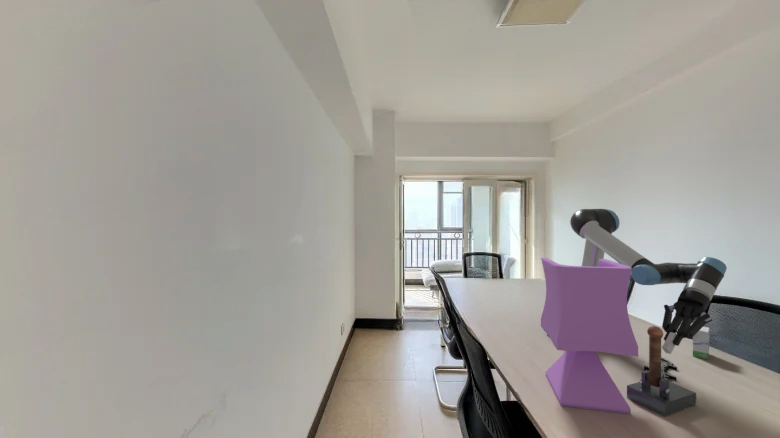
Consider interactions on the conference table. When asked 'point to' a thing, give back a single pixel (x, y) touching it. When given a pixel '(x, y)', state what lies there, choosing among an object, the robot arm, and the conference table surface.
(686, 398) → the press base
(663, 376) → the nameplate
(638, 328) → the conference table surface
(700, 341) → the ink box
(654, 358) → the lever
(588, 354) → the purple pedestal vase
